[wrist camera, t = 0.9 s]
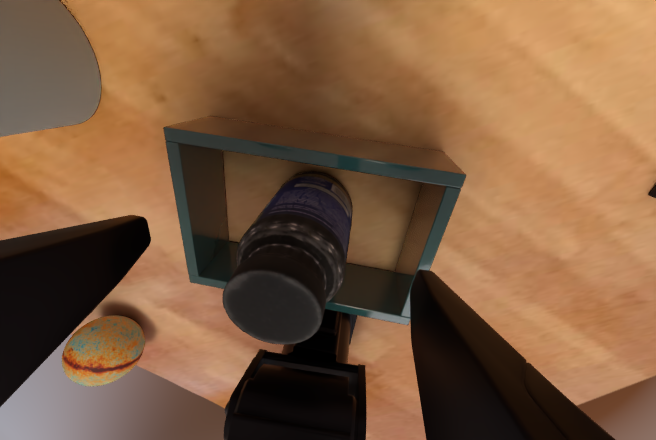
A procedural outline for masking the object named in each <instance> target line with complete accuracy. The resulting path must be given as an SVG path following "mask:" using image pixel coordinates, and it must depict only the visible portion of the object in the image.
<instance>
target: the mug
mask: <svg viewBox="0 0 656 440" xmlns="http://www.w3.org/2000/svg"><path fill="white" fill-rule="evenodd" d="M100 96H101V79H100V73H99V68H98V64H97V61H96V58H95V55H94V52H93V50H92V48H91V45H90V43H89V41H88V39H87V37H86V36H85V34H84V32H83V30H82V29H81V27H80V26H79V24H78V23H77V21H76V20H75V19H74V17H73V16H72V15H71V13H70V12H69V11H68V10H67V9H66V7H65V6H64V5H63V4H62V3H61V2H60V1H59V0H0V137H2V136H8V135H14V134H20V133H26V132H32V131H39V130H45V129H51V128H57V127H63V126H69V125H76V124H80V123H82V122H85V121H86V120H88V119H89V118H90V117H91V116H92V115H93V114H94V113H95V111H96V109H97V107H98V104H99V101H100Z"/></svg>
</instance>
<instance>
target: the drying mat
mask: <svg viewBox="0 0 656 440" xmlns="http://www.w3.org/2000/svg"><path fill="white" fill-rule="evenodd" d="M649 196H652V197H654V198H656V186H655V187H654V188H653V189H652V191H651V192H650V193H649Z"/></svg>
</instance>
